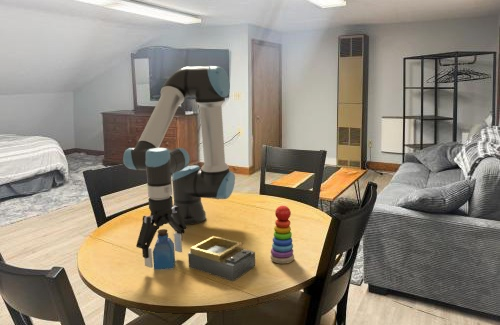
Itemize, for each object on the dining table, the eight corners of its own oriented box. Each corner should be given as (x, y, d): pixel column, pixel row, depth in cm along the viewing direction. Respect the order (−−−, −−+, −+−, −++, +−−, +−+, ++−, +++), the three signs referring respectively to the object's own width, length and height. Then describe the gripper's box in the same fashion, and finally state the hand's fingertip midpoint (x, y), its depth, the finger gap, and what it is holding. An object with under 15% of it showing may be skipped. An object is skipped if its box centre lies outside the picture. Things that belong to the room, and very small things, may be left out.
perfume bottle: (156, 261, 142) (154, 227, 140) (175, 260, 142) (173, 227, 140) (154, 269, 136) (151, 234, 133) (173, 268, 136) (171, 233, 134)
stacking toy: (293, 265, 137) (293, 210, 133) (269, 264, 138) (268, 209, 135) (295, 255, 145) (295, 203, 141) (271, 254, 146) (271, 202, 142)
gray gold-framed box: (188, 267, 137) (187, 247, 136) (212, 254, 147) (211, 235, 145) (233, 281, 127) (232, 259, 126) (255, 266, 137) (254, 246, 136)
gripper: (138, 209, 122) (143, 276, 127) (195, 189, 142) (197, 247, 147) (121, 205, 126) (126, 270, 131) (178, 186, 147) (182, 243, 151)
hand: (164, 258), depth 139 cm, fingers open, 13 cm apart
